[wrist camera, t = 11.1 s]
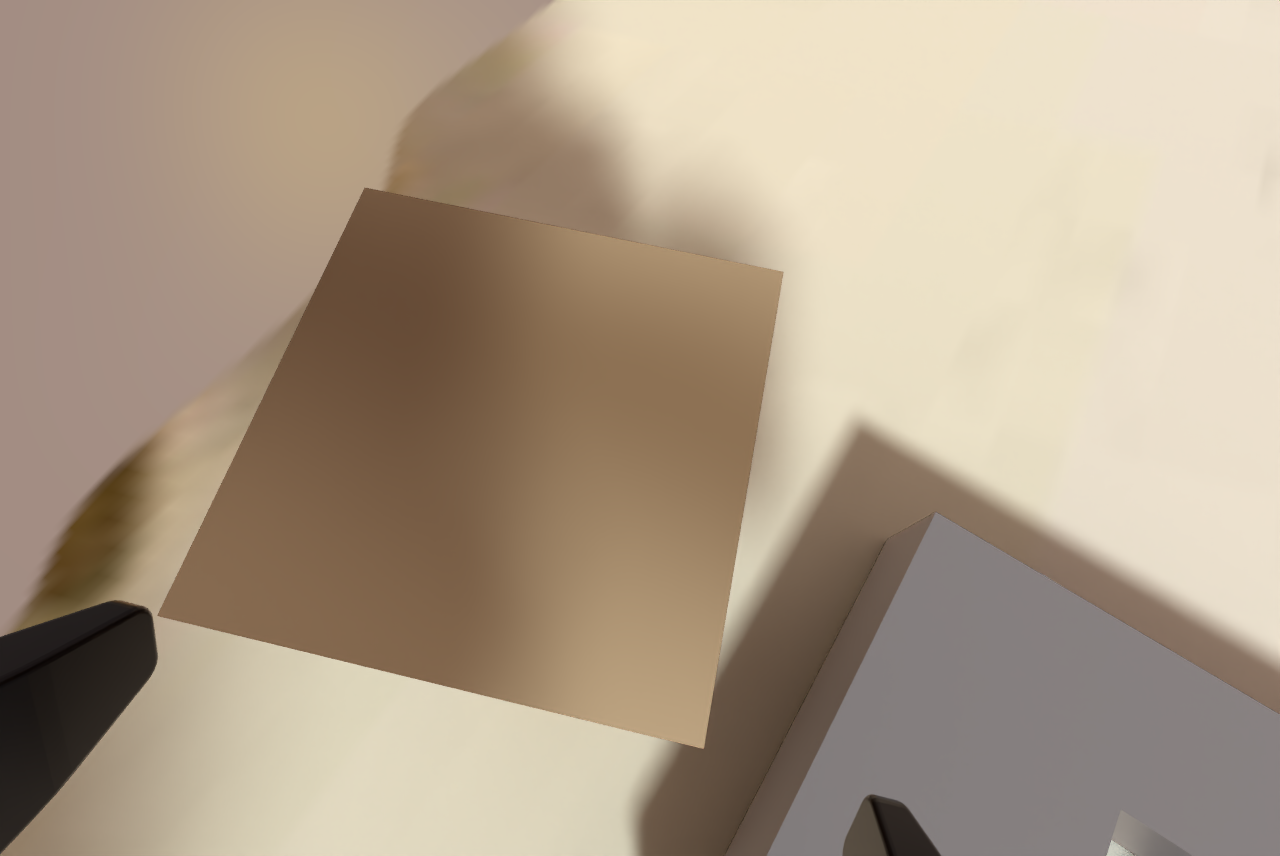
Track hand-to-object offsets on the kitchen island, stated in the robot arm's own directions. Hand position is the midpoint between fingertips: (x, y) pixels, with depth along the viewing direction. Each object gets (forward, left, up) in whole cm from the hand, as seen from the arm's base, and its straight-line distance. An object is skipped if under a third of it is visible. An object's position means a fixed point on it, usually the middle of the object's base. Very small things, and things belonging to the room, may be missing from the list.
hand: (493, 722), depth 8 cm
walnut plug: (+1, +2, -9) cm, 9 cm away
